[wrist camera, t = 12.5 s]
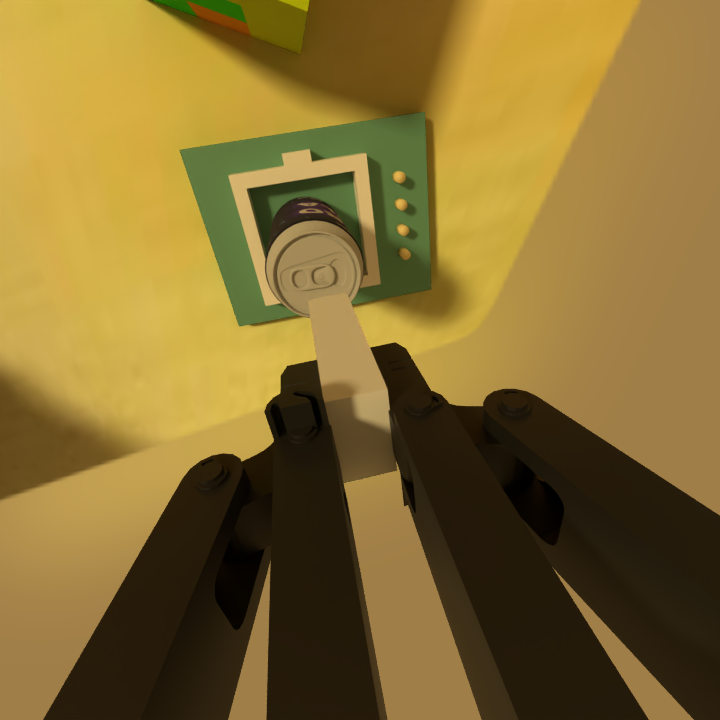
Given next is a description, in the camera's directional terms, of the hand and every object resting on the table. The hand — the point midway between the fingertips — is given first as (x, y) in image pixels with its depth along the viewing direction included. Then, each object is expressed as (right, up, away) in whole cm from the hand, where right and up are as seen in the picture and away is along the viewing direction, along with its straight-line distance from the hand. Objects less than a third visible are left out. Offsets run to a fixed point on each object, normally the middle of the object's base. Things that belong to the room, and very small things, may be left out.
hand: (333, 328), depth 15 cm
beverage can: (-3, +9, +16) cm, 19 cm away
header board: (-2, +10, +17) cm, 20 cm away
